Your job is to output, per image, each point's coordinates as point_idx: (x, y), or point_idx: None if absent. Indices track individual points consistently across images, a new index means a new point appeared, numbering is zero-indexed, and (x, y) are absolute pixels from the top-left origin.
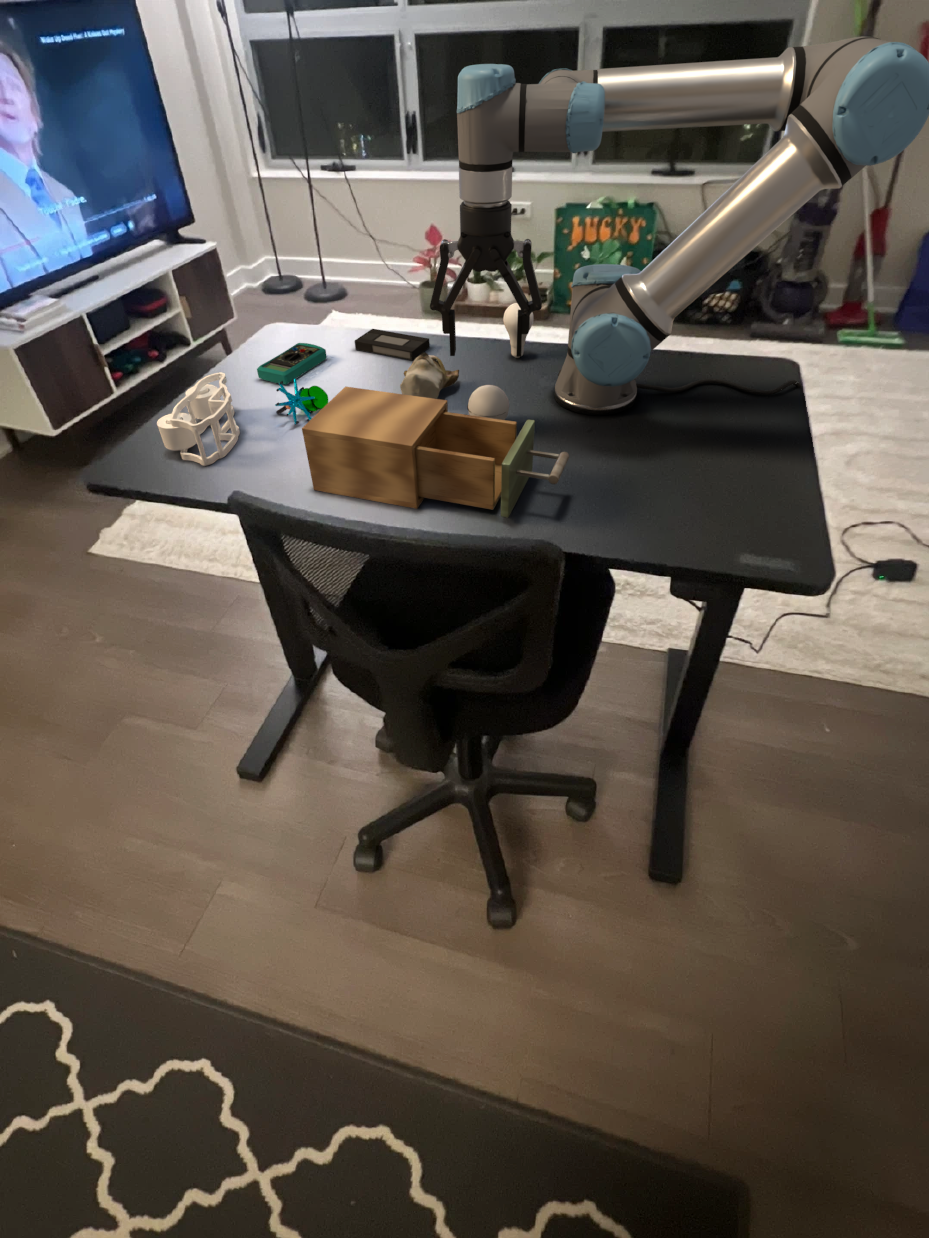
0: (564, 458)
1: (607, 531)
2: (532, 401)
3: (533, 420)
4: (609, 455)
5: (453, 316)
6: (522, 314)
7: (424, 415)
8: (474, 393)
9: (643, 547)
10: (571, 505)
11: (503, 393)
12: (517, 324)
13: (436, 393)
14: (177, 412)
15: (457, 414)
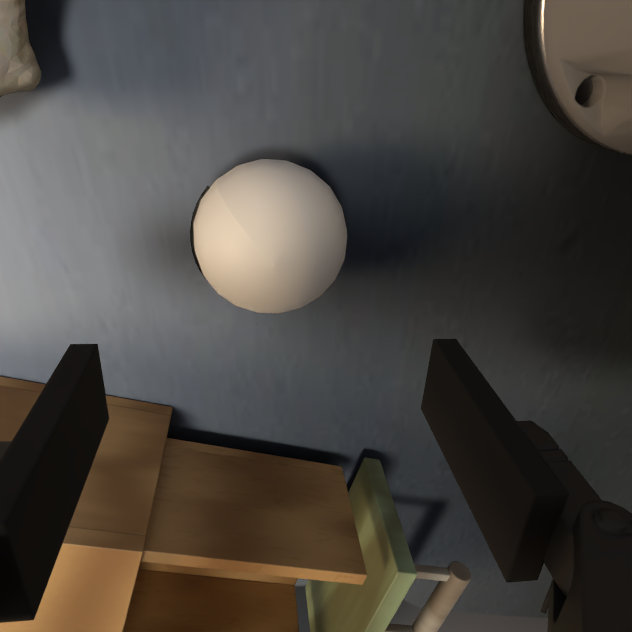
0: (458, 597)
1: (483, 575)
2: (435, 17)
3: (414, 575)
4: (573, 360)
5: (35, 606)
6: (544, 560)
7: (87, 629)
8: (216, 266)
9: (525, 598)
10: (440, 525)
11: (332, 258)
12: (483, 533)
13: (30, 86)
14: None
15: (187, 560)
